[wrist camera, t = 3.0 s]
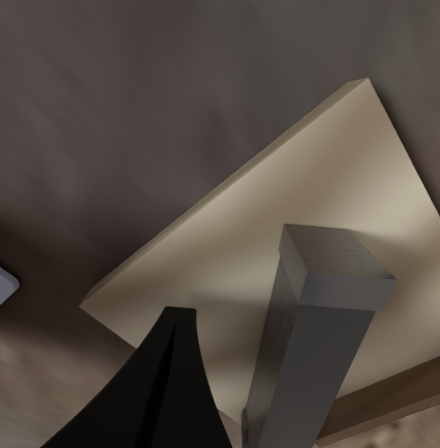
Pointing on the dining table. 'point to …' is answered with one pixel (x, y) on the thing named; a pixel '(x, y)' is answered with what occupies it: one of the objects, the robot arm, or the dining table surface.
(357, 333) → the folding leg
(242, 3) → the dining table surface
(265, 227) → the stool seat
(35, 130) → the dining table surface
